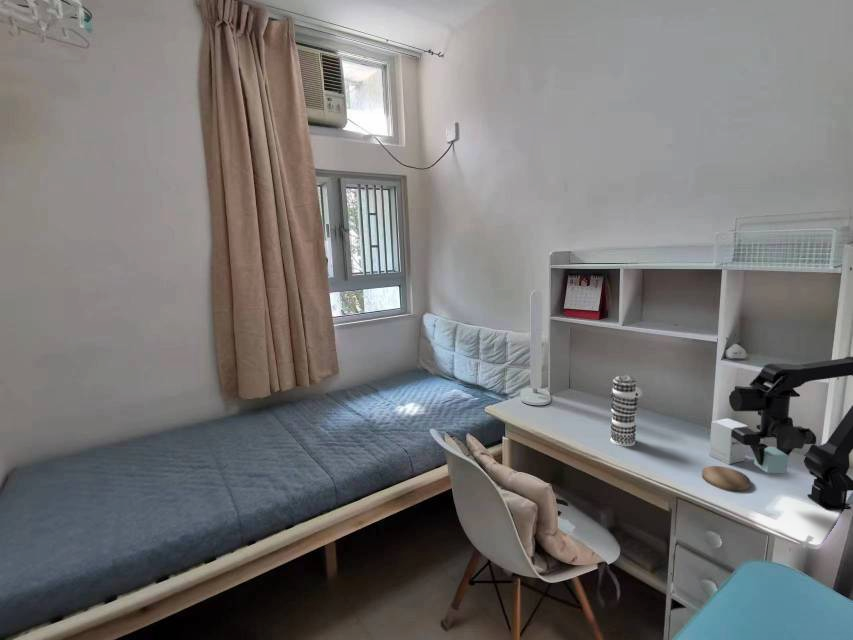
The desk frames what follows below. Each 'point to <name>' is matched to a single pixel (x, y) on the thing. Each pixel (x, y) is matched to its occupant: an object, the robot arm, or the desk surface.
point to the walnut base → (726, 478)
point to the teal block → (773, 461)
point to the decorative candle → (623, 411)
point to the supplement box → (726, 442)
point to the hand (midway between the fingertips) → (770, 464)
